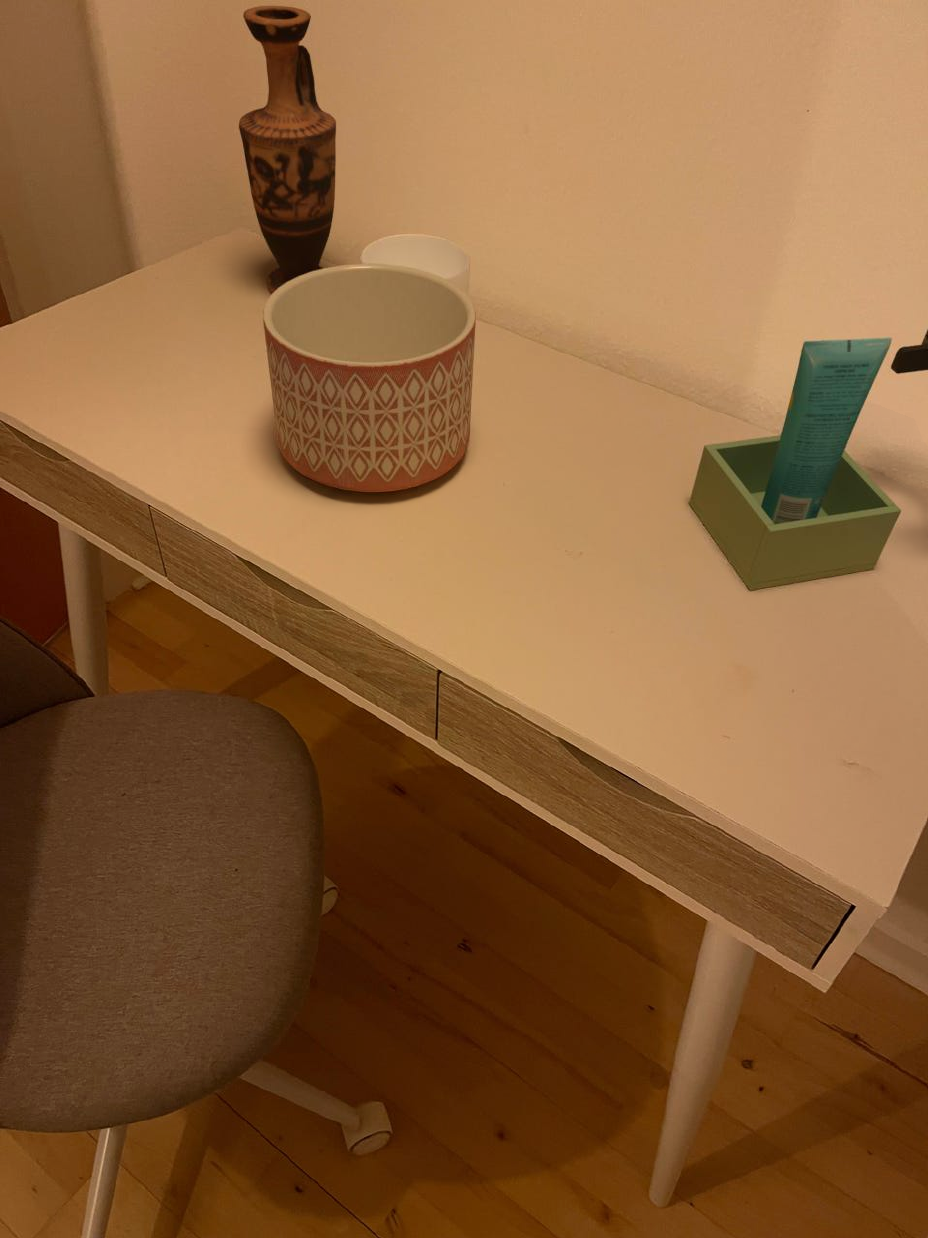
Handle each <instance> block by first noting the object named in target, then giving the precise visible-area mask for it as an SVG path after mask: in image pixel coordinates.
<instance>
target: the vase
mask: <svg viewBox="0 0 928 1238" xmlns="http://www.w3.org/2000/svg"><path fill="white" fill-rule="evenodd" d="M242 16H243V19H244V22H245V24H246V27H247V28H248V30H249V32H250V34H251V36H252V37H253V38H254V40H256V41H257V42H259V43H260V45H261V46H262V50H263V53H264V56H265V63H266V65H265V66H266V75H267V85H268V86H267V87H268V94H267V95H268V96H267V102H266V105H265V106H263V107H261V108H257V109H254V110H250V111H248V112H247V113H245V114H244V115H242V116H241V117H240V118H239V121H238V130H239V133H240V138H241V142H242V147H243V153H244V161H245V165H246V170H247V176H248V177H247V178H248V182H249V188H250V195H251V199H252V203H253V208H254V211H255V215H256V218H257V222H258V226H259V229H260V231H261V234H262V236H263V239H264V240H265V243H266V244H267V247H268V249H269V251H270V252H271V254H272V255H273V258H274V259H275V262H276V263H277V265H278V267H277V268H275V269H274V270H272V271H271V273H270V274H269V275H268V278H267V288H268V290H269V292H270V293H271V294H273V293H274V292H275V291H276V290H277V289H278V288H279V287H281V286H282V285H283V284H285V283H286V282H288V281H290V280H292V279H294V278H296V277H298V276H301V275H303V274H306V273H309V272H312V271H316V270H319V269H323V268H324V267H323V266H321V265H320V264H321V260H322V257H323V254H324V252H325V249H326V246H327V243H328V240H329V238H330V234H331V229H332V223H333V217H334V211H335V199H336V166H337V165H336V163H337V159H336V158H337V157H336V156H337V155H336V154H337V153H336V152H337V151H336V149H337V147H336V146H337V144H336V143H337V142H336V138H337V120H336V118H335V117H334V116H332V115H331V114H330V113H328V112H326V111H324V110H322V108H321V106H320V105H319V103H318V100H317V95H316V89H315V88H316V86H315V75H314V71H313V65H312V59H311V54H310V52H309V50H308V49H307V47H305V46H304V45H301V44H300V43H301V41H303V39H304V38H305V36H306V34H307V32H308V29H309V26H310V22H311V19H312V18H311V17H312V16H311V14H310V13H309V12H308V11H306V10H305V9H302V8H299V7H293V6H285V5H284V6H283V5H260V6H253V7H250V8H248V9H246V10H244V12H243V14H242Z"/></svg>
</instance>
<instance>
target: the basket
mask: <svg viewBox="0 0 928 1238" xmlns="http://www.w3.org/2000/svg"><path fill="white" fill-rule="evenodd" d="M780 437H781V434H779V435H771V436H764V437H755V438H749V439H743V440H742V439H741V440H735V441H728V442H719V443H713V444H712V443H711V444H705V445H704V446H703V450H702V453H701V457H700V460H699V464H698V468H697V472H696V475H695V478H694V483H693V487H692V491H691V495H690V498H689V501H688V504H689V506H690V508H691V509H692V510H693V512H694V513H695V515H696V516H697V517H698V519H699V520H700V521H701V523H702V525H703V526H704V528H705V529H706V530H707V531H708V533H709V535H710V536H711V537H712V538H713V540H714V541H715V543H716V544H717V546H718V547H719V549H720V550H721V552H722V553H723V555H724V556H725V557H726V559H727V560H728V562H729V563H730V564H731V566H732V567H733V569H734V570H735V571H736V573H737V574H738V576H739V577H740V579H741V580H742V582H743V583H744V584H745V586H746V588H747V589H748V590H749V591H756V590H761V589H766V588H772V587H778V586H785V585H789V584H797V583H802V582H807V581H812V580H819V579H823V578H830V577H835V576H841V575H847V574H853V573H860V572H864V571H865V572H866V571H870V570H871V571H872V570H874V569H875V568H876V566H877V564H878V561H879V559H880V557H881V555H882V553H883V550H884V548H885V547H886V544H887V542H888V540H889V538H890V536H891V533H892V532H893V529H894V527H895V525H896V523H897V521H898V518H899V516H900V514H901V513H902V510H901V509H900V507H899V506H898V505H897V504H896V503H895V502H894V501H893V500H892V498H890V497H889V496H888V495H887V493H885V491H884V490H883V489H882V488H881V487H880V486H879V485H878V484H877V483H876V482H875V481H874V480H873V479H872V478H871V477H870V476H869V474H868V473H866V471H865V470H864V469H863V468H862V467H861V466H860V465H859V464H858V462H857V461H855V460H854V458H852V456H851V455H850V454H849V453H848V452H847V451H846V450H844V452H843V454H842V457H841V459H840V461H839V464H838V466H837V469H836V471H835V474H834V476H833V478H832V481H831V483H830V486H829V488H828V491H827V493H826V495H825V498H824V500H823V503H822V505H821V508H820V510H819V513H818V515H817V518H812V519H806V520H799V521H793V522H787V523H780V524H774V523H773V522H772V520H771V519H770V518H769V517H768V515H767V514H766V513H765V511H764V510H763V509H762V508H761V505H762V502H763V498H764V495H765V491H766V488H767V484H768V481H769V477H770V474H771V470H772V467H773V463H774V459H775V456H776V452H777V448H778V445H779V441H780Z"/></svg>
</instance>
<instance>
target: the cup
mask: <svg viewBox="0 0 928 1238" xmlns="http://www.w3.org/2000/svg"><path fill="white" fill-rule="evenodd" d="M359 264H388V265H397V266H403V267H409V268H414V269H418V270H421V271H425V272H429V273H431V274H434V275H437V276H439V277H441V278H443V279H445V280H447V281H449V282H451V283H453V284H454V285H456V286H457V287H459V288H460V289H461V290H462V291H463V292H464V293H465V294H466V295H467V296H468V297H469V298H470V296H469V295H470V280H471V279H470V276H471V256H470V255H469V253H468V252H467V251H466V249H465V248H464V247H463V246H461V245H460V244H458V243H456V242H454V241H452V240H450V239H447V238H443V237H440V236H435V235H430V234H420V233H405V234H404V233H402V234H395V235H390V236H385V237H382V238H378V239H376V240H375V241H372V242H370V243H369V244H367V245H366V246H365V247H364V248H363V249H362V251H361V253H360V255H359Z"/></svg>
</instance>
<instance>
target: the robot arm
mask: <svg viewBox="0 0 928 1238" xmlns="http://www.w3.org/2000/svg"><path fill="white" fill-rule="evenodd" d="M890 369H891V370H892V371H893V372H894V373H895V374H897V375H900V374H907V373H914V372H923V371H928V329H927V330H926V332H925V334H924V337H923V338H922V342H921V344H916V345H908V346H901V347H900V348H898V350H897V351H896V353H895V355H894V357H893V360H892V362H891V365H890Z"/></svg>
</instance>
